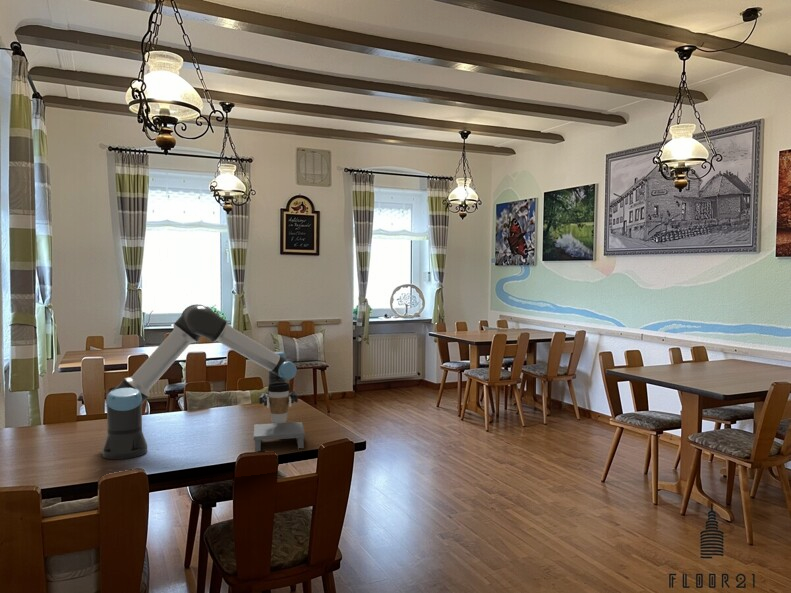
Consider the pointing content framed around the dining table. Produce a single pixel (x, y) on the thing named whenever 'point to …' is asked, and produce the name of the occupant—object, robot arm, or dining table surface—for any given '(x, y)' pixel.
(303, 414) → the dining table surface
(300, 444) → the bridge shelf
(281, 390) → the coffee cup
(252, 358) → the robot arm
